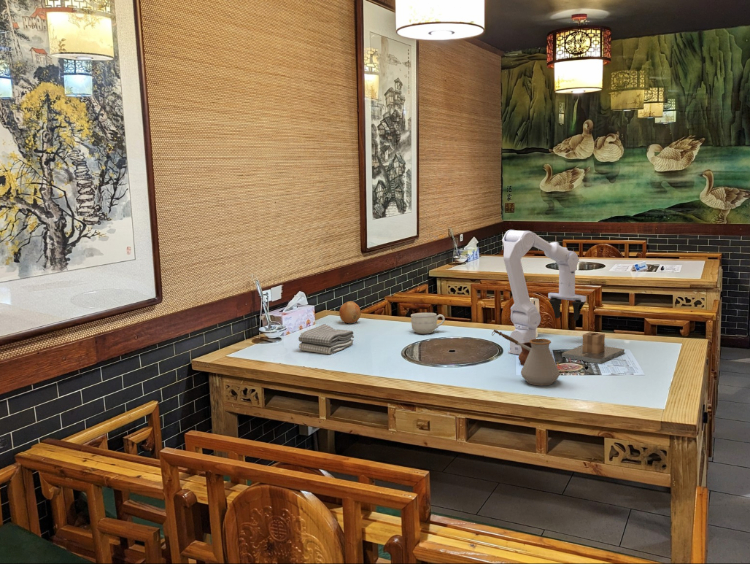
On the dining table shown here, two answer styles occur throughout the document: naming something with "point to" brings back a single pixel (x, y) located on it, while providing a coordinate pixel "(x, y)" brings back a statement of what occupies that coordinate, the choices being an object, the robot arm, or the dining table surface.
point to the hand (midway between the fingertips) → (566, 318)
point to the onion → (349, 312)
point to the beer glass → (536, 303)
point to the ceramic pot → (525, 353)
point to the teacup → (425, 322)
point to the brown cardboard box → (593, 342)
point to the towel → (325, 340)
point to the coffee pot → (537, 362)
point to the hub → (593, 354)
